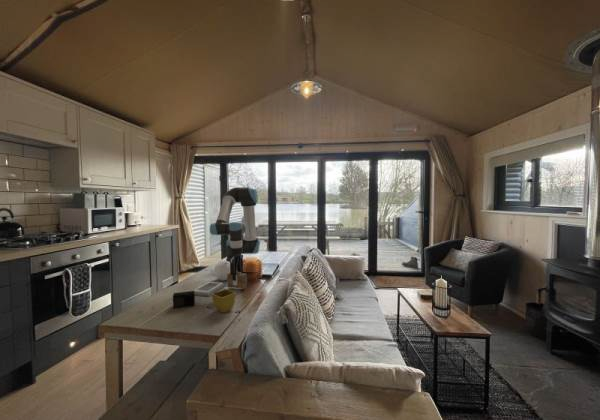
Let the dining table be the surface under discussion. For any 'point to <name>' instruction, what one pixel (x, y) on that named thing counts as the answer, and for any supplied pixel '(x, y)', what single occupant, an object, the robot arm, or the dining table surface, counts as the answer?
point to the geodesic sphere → (222, 270)
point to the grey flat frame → (209, 288)
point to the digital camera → (183, 299)
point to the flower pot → (223, 300)
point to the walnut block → (240, 280)
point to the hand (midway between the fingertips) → (237, 283)
